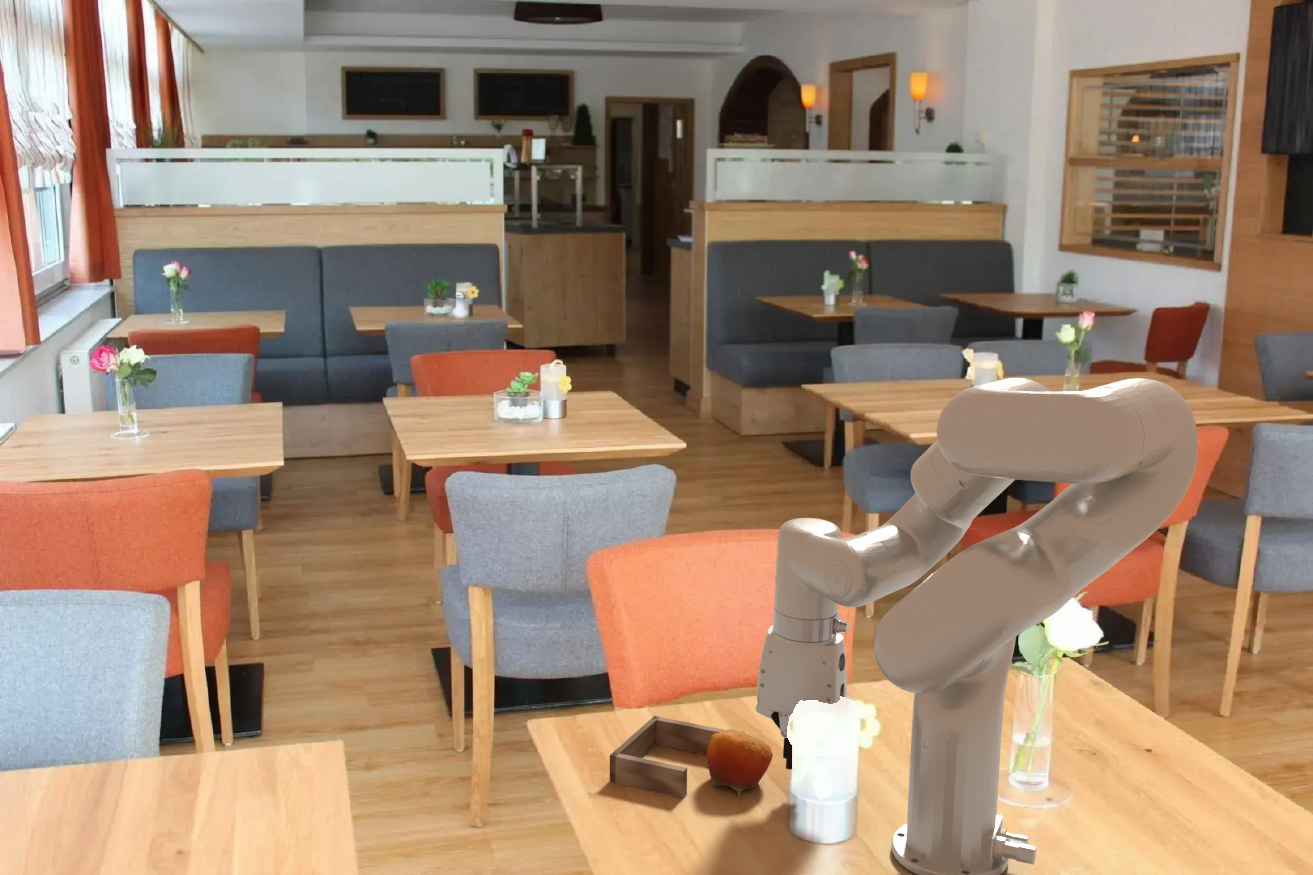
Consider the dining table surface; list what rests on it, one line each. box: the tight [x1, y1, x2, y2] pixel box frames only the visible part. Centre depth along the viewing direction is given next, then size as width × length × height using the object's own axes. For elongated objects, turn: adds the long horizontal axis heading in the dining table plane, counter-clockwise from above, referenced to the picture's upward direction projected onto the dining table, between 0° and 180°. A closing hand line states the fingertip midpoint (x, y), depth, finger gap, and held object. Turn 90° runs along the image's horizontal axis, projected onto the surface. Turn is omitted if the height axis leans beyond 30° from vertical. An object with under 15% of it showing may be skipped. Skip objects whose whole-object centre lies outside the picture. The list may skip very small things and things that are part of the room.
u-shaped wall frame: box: [609, 715, 725, 799], centre depth 163 cm, size 10×13×4 cm
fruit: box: [706, 729, 774, 799], centre depth 158 cm, size 8×8×8 cm
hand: (796, 765), depth 156 cm, fingers closed
